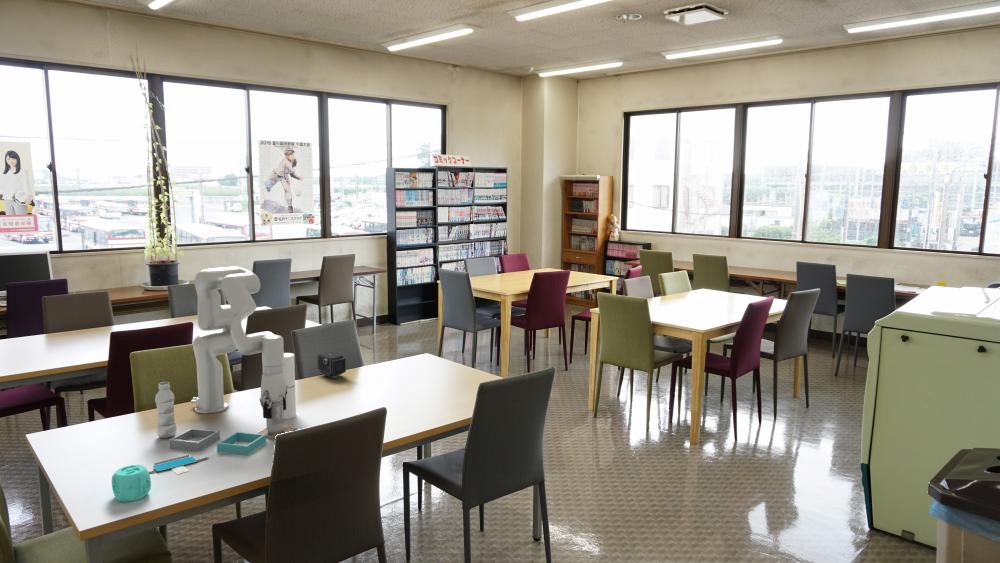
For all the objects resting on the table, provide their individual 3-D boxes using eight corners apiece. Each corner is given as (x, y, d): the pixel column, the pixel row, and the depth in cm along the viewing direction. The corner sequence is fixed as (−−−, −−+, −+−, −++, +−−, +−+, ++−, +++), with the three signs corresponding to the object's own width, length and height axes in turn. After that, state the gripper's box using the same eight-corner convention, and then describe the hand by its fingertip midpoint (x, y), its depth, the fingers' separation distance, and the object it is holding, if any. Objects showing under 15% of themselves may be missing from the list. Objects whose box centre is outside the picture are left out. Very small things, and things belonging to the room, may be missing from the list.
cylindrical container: (290, 419, 261) (288, 357, 258) (273, 418, 263) (271, 356, 260) (299, 413, 268) (297, 353, 265) (283, 412, 270) (281, 352, 266)
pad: (253, 437, 243) (253, 435, 243) (270, 426, 253) (270, 425, 253) (281, 439, 240) (281, 438, 240) (296, 429, 251) (296, 427, 251)
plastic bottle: (157, 441, 238) (154, 387, 235) (157, 435, 244) (153, 382, 241) (177, 438, 241) (174, 384, 238) (176, 432, 247) (173, 379, 244)
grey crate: (169, 447, 232) (169, 439, 231) (191, 436, 243) (191, 428, 243) (198, 451, 229) (198, 442, 229) (219, 439, 241) (219, 431, 240)
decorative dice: (122, 505, 190) (120, 478, 189) (112, 496, 195) (110, 470, 194) (151, 495, 196) (150, 469, 195) (141, 487, 201) (139, 462, 200)
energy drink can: (279, 427, 251) (278, 389, 249) (286, 431, 247) (285, 392, 245) (264, 431, 247) (262, 392, 245) (271, 435, 243) (270, 396, 241)
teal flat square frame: (217, 451, 229) (216, 443, 229) (237, 439, 240) (237, 431, 240) (247, 455, 226) (246, 446, 226) (266, 442, 238) (265, 434, 237)
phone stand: (148, 483, 205) (148, 478, 205) (138, 471, 214) (137, 466, 213) (215, 466, 218) (215, 461, 218) (202, 455, 227) (202, 450, 227)
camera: (315, 377, 324) (331, 381, 313) (313, 354, 323) (329, 357, 312) (334, 373, 331) (350, 376, 321) (332, 351, 331) (349, 353, 320)
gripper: (277, 362, 253) (278, 405, 255) (250, 374, 236) (252, 420, 238) (295, 363, 251) (296, 407, 254) (269, 376, 234) (271, 422, 237)
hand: (274, 413), depth 246 cm, fingers open, 9 cm apart
